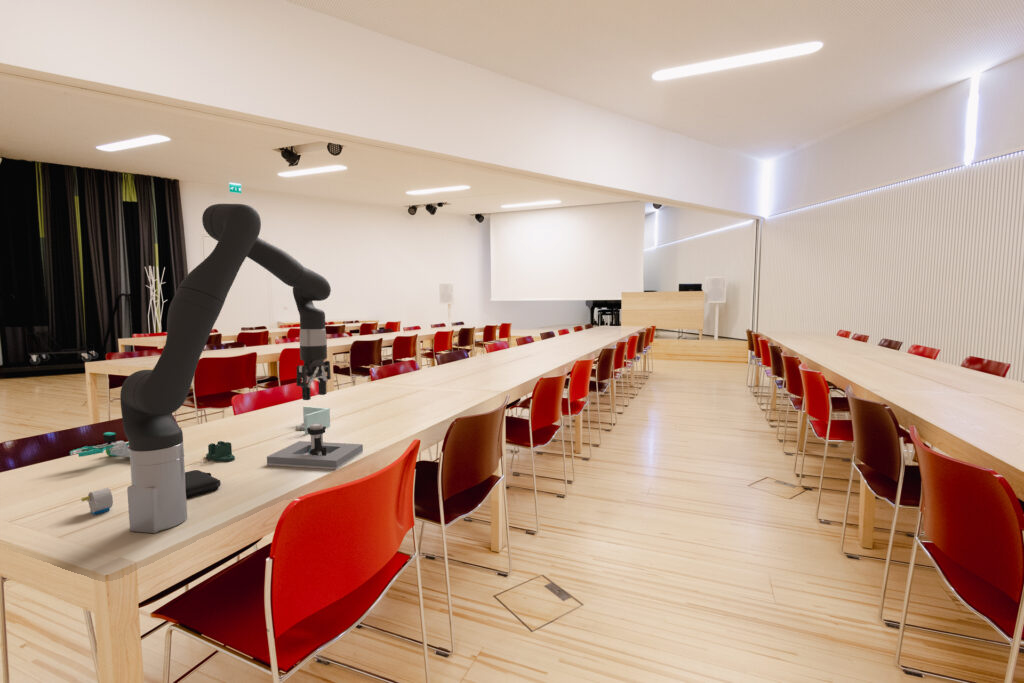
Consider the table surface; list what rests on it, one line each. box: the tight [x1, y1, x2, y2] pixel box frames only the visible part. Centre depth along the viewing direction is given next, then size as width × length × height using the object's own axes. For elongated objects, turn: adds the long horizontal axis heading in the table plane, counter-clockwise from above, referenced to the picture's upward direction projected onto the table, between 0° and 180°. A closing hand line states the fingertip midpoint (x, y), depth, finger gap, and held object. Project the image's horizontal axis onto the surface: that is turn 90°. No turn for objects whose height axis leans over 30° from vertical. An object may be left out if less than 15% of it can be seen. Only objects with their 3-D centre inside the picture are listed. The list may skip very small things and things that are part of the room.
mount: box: [205, 440, 236, 463], centre depth 145 cm, size 11×4×5 cm, turn 67°
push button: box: [307, 423, 327, 456], centre depth 145 cm, size 7×5×10 cm
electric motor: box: [80, 487, 114, 516], centre depth 108 cm, size 7×5×5 cm
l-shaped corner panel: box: [296, 406, 331, 435], centre depth 180 cm, size 12×12×8 cm
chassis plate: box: [266, 440, 364, 470], centre depth 146 cm, size 16×22×2 cm
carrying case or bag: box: [185, 469, 222, 499], centre depth 123 cm, size 11×3×15 cm
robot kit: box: [69, 431, 130, 458], centre depth 144 cm, size 19×25×9 cm
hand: (314, 397), depth 144 cm, fingers open, 8 cm apart
